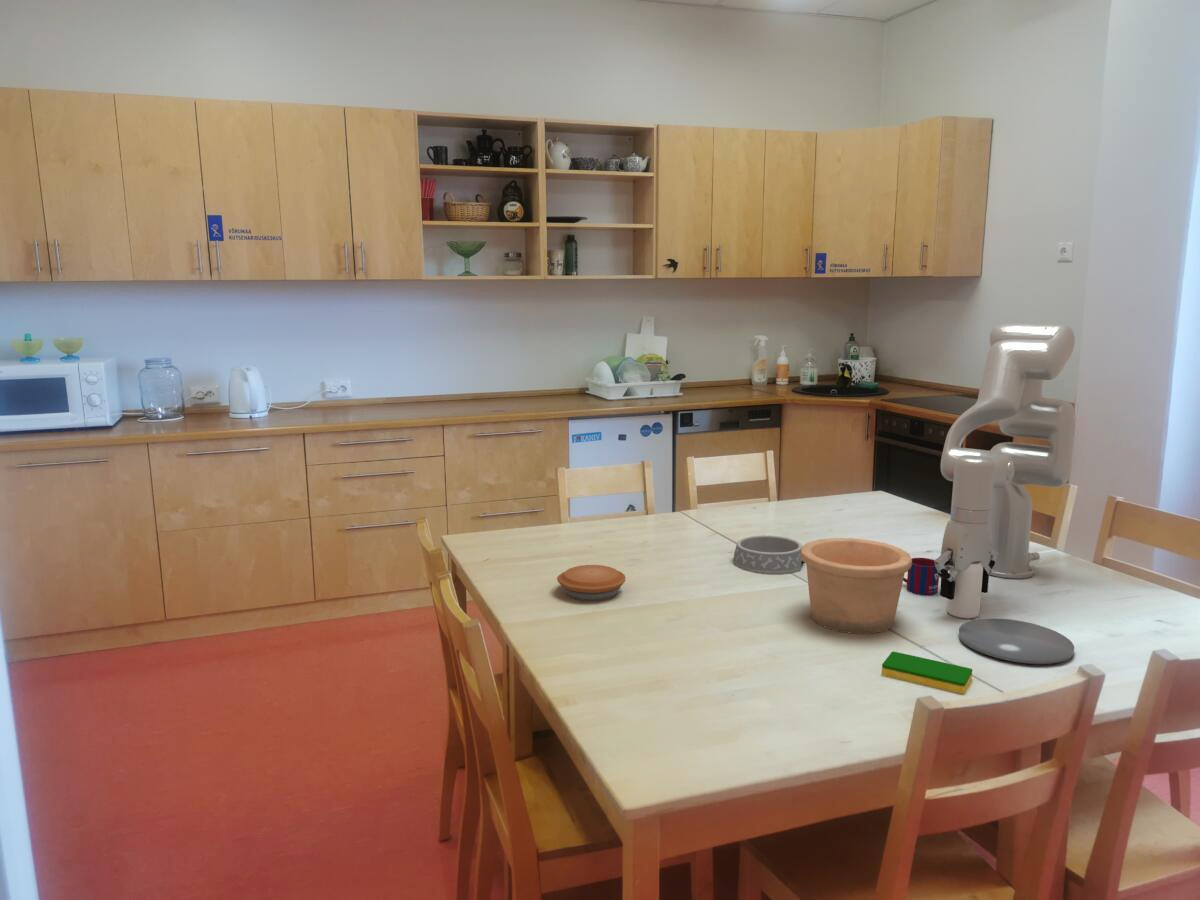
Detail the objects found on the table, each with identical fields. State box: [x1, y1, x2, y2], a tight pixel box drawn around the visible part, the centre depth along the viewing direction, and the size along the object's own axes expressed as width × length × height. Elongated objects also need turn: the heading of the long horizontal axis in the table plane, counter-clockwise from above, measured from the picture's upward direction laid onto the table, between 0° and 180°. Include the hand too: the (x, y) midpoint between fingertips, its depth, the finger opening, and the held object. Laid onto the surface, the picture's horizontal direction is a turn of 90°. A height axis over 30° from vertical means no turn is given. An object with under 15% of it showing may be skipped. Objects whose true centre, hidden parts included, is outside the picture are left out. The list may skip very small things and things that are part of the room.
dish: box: [958, 617, 1075, 665], centre depth 165 cm, size 20×20×1 cm
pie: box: [556, 564, 626, 602], centre depth 194 cm, size 16×16×5 cm
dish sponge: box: [881, 651, 973, 695], centre depth 151 cm, size 7×14×2 cm, turn 57°
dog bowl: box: [732, 534, 803, 576], centre depth 215 cm, size 17×18×5 cm
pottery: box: [801, 537, 912, 634], centre depth 177 cm, size 22×22×14 cm
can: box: [945, 562, 983, 620], centre depth 180 cm, size 6×6×12 cm
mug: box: [903, 557, 940, 596], centre depth 196 cm, size 7×10×7 cm
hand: (963, 594), depth 180 cm, fingers open, 9 cm apart
